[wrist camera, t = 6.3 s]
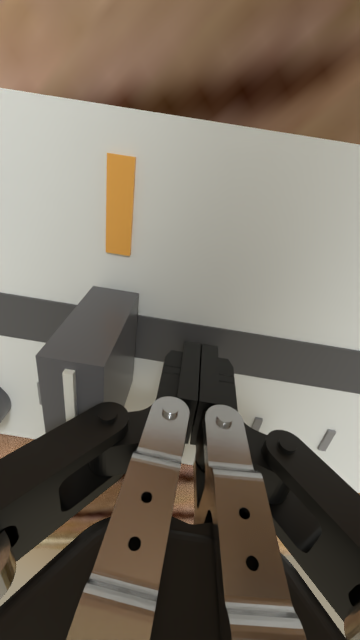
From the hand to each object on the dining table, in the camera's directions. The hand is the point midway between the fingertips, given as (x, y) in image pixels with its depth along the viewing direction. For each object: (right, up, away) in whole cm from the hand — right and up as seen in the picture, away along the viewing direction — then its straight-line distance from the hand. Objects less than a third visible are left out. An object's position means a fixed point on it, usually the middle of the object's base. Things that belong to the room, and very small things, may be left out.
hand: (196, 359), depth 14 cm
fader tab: (-4, +1, +1) cm, 4 cm away
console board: (0, +2, +3) cm, 3 cm away
